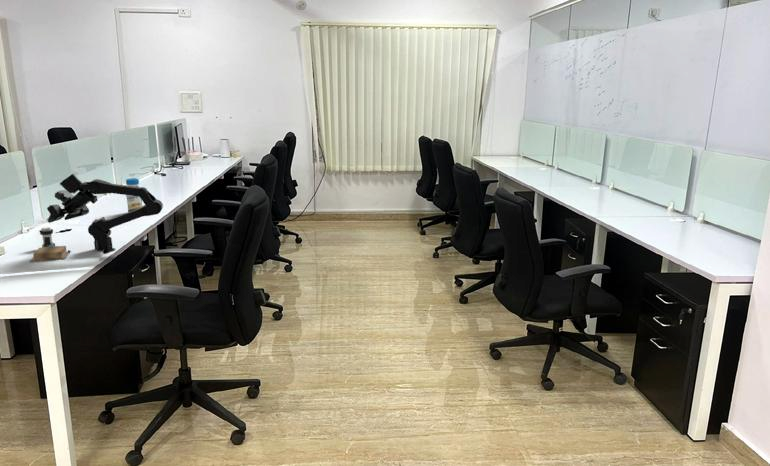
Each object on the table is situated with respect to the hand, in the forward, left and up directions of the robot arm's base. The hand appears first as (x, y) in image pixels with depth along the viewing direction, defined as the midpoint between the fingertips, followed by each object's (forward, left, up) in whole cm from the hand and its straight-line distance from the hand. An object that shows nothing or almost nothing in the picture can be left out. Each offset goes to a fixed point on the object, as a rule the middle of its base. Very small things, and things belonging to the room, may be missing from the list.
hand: (56, 220), depth 242 cm
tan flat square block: (-6, +12, -13) cm, 18 cm away
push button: (+5, 0, -14) cm, 15 cm away
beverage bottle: (+18, -80, -14) cm, 83 cm away
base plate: (-6, +12, -14) cm, 19 cm away
